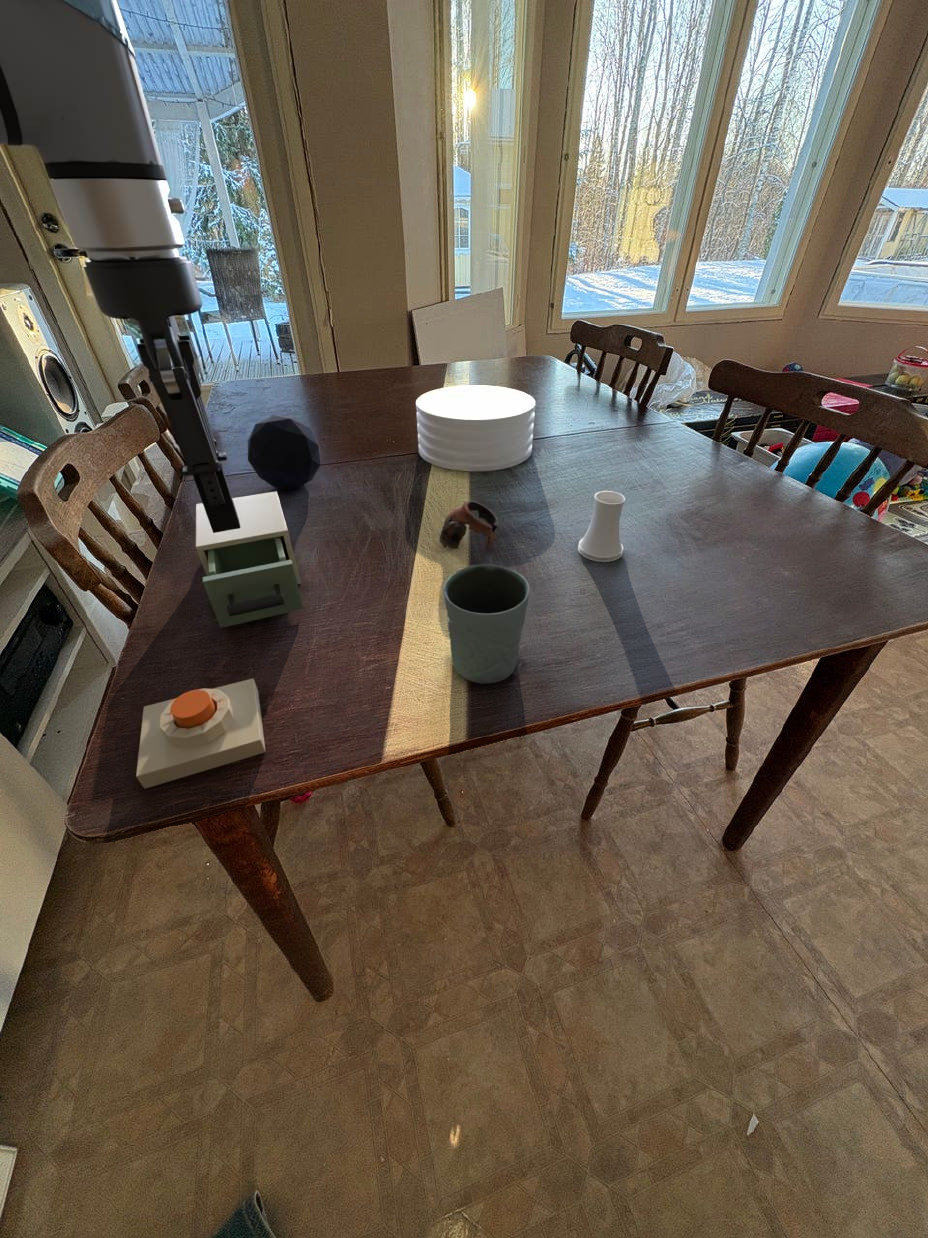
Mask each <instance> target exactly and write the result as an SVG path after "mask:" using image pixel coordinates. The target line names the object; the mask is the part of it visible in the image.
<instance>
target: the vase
mask: <svg viewBox="0 0 928 1238" xmlns="http://www.w3.org/2000/svg"><path fill="white" fill-rule="evenodd" d="M625 502H626V497H625V496H624V495H623V494H622V493H619V492H617V491H611V490H602V491H598V492H596V493H594V506H593V512H592V516H591V520H590V523H589V526H588V529H587V531H586V533H585V534H584V536H583V537H582V538H581V539H580V540H579V541H578V546H577V550H578V553H579V554H580V555H581V556H583V558H586V559H588V560H590V561H594V562H599V563H609V562H614V561H617V560H619V559H620V558H621V557H622V556H623V551H624V545H623V543H622V542H621V536H620V522H621V521H620V520H621V514H622V510H623V507H624V504H625Z"/></svg>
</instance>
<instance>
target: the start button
mask: <svg viewBox="0 0 928 1238" xmlns="http://www.w3.org/2000/svg"><path fill="white" fill-rule="evenodd" d="M174 699H175V700H174V702H173V703H172V705H171V708H170V711H171V714H172V716H173V717H174V719H175V721H176V723H177V724H178V726H180V727H182V728H186V729H190V728H194V727H197V726H201V725H203V724H204V723H206V722H207V721H209V720H210V719H211V718H212V717H213V715H214V713H215V709H216V708H215V705H214V703H213V701H212V698H211V696H210V694H209V693H208V692H206V691H203V690H199V689H194V690H193V689H192V690H189V691H186V692H184V693H182V694H180V695H179V696H178V697H176V698H174Z"/></svg>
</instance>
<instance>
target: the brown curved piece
mask: <svg viewBox="0 0 928 1238" xmlns="http://www.w3.org/2000/svg"><path fill="white" fill-rule="evenodd" d="M474 511H477V513H478V518H479V519H478V518H477V517H476V516H474V514H473V513H472V512H474ZM481 519H483V520H484V521H486V523H485V522H483V521H482V520H481ZM468 526H469V527H468ZM499 527H500V523H499V519H498V518H497V516H496V515H495V513H493V511H491V510H490V509H489V508H488V507H486V506H485V505H484V504H482V503H480V502H478V501H475V500H466V501H464V502H463V504H462V505H460V506H456V507H455V508H452V510H451V511H450V512H448V514H447V516H446V518H445V520H444V523H443V526H442V528H441V531H440V535H439V543H440V544H441V546H442V548H445V549H446V547H448V548H449V549H452V550H458V549H459V548H458V547H459V545H460V543H461V541H462V540H463V538H464V537H465V535H466V533H467V530H468V529H469V530H470V531H473V532H475V533H477V534H481V535H482V536H484V537H487V541H486V544H485V549H486V550H489V549H491V548H492V546H493V545H494V542H495V541H496V539H497V529H498V528H499Z"/></svg>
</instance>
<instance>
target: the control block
mask: <svg viewBox="0 0 928 1238" xmlns="http://www.w3.org/2000/svg"><path fill="white" fill-rule="evenodd" d="M258 689H259V688H258V686H257V685H256V681H255V679H254V678H253V677H252V678H249V679H246V680H242V681H237V682H234V683H233V682H232V683H229V684H226V685H221V686H218V687H214V688H207V687H205V688H199V689H198V690H203V691H206V692H208V693H209V694H210V696H211V698H212V701H213V703H214V705H215V708H216V709H215V713H214V715H213V717H212V718H211V719H210V720H209V721H207V722H206V723H204V724H203V725H201V726H197V727H194V728H190V729H186V728H182V727H180V726H178V724H177V723H176V721H175V719H174V717H173V716H172V714H171V711H170V708H171V705H172V703H173V702H174V700H175V699H176V698H173V699H168V700H165V701H160V702H157V703H153V704H149V705H145V706H143V709H142V710H143V711H142V718H141V719H142V720H141V731H140V737H139V740H140V741H139V748H138V756H137V765H136V772H135V773H136V775H135V778H136V779H137V780H138V781H139V783H140V784H141V786H142V787H143V789H144V790H146V789H149V788H153V787H155V786H159V785H162V784H165V783H169V782H172V781H176V780H178V779H182V778H185V777H189V776H192V775H195V774H198V773H203V772H205V771H208V770H212V769H214V768H215V769H216V768H219V767H222V766H226V765H228V764H231V763H235V762H239V761H242V760H244V759H249V758H252V757H255V756H258V755H261V754H265V753H266V744H265V736H264V726H263V721H262V719H263V718H262V711H261V704H260V696H259V690H258Z"/></svg>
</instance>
